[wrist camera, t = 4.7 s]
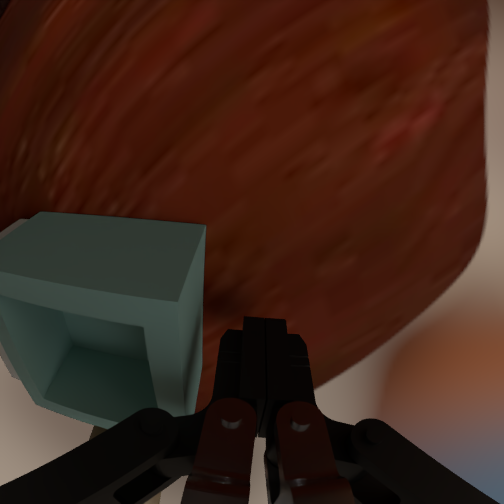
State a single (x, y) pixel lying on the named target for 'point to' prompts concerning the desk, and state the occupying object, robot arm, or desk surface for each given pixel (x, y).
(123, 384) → the grey-green open box
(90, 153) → the desk surface
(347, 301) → the desk surface
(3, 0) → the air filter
